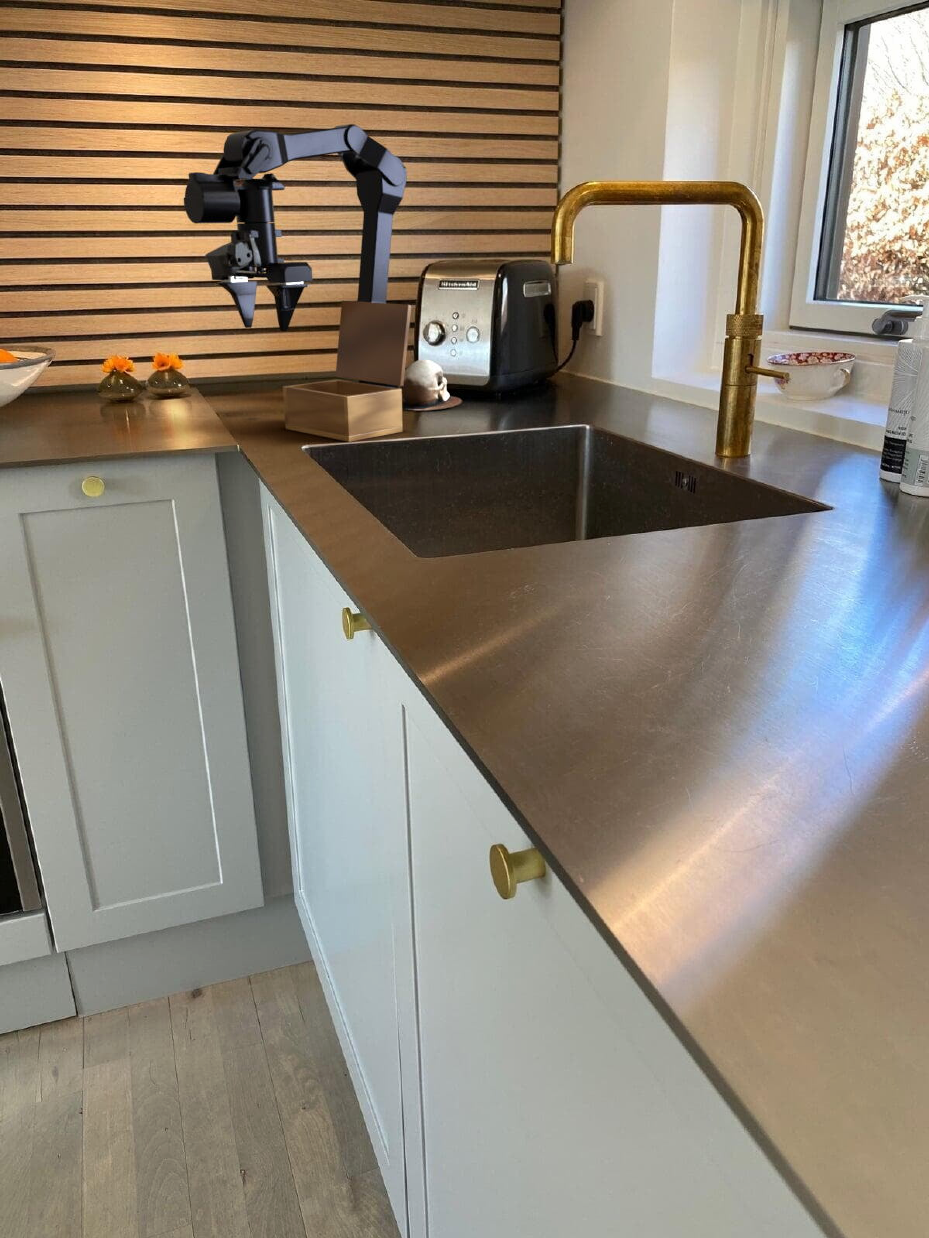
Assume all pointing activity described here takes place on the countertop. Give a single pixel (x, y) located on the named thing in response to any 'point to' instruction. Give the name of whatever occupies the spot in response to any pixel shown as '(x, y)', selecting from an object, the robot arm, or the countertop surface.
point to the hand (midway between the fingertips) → (265, 329)
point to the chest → (343, 409)
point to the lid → (373, 342)
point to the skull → (426, 388)
